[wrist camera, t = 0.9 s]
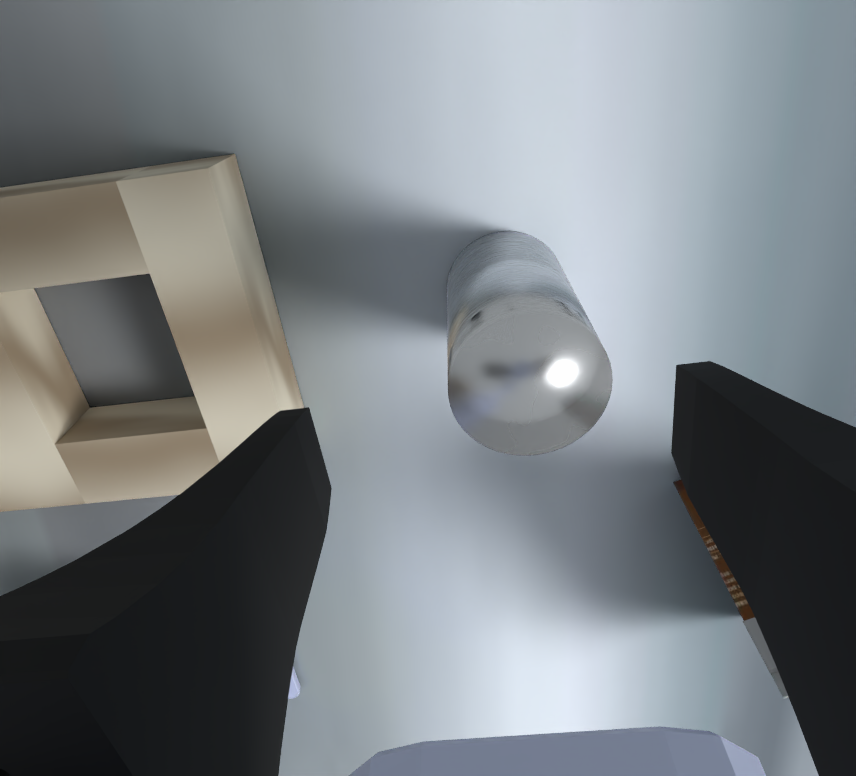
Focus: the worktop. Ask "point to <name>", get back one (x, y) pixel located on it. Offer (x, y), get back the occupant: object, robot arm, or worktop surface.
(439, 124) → the worktop surface
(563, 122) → the worktop surface
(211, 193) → the board
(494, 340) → the silver metal cylinder
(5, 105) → the worktop surface
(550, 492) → the worktop surface
